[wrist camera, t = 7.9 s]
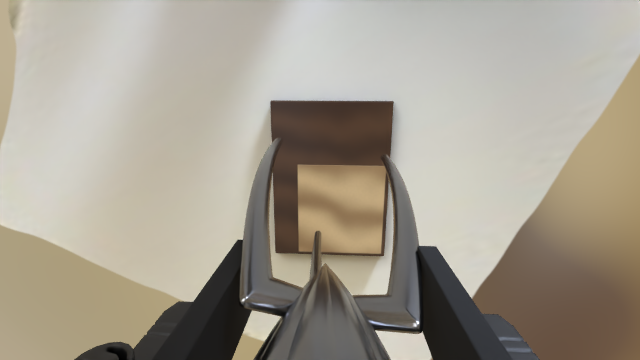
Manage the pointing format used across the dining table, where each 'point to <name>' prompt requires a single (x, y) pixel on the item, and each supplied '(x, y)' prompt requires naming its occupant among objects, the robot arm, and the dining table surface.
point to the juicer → (329, 286)
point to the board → (331, 175)
